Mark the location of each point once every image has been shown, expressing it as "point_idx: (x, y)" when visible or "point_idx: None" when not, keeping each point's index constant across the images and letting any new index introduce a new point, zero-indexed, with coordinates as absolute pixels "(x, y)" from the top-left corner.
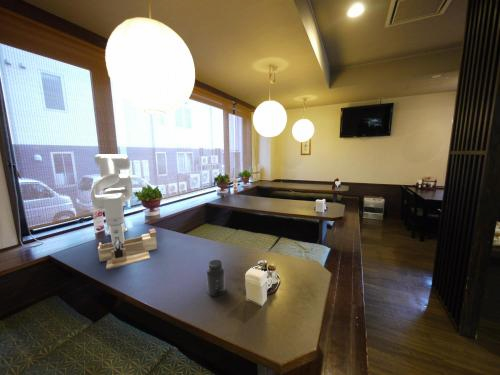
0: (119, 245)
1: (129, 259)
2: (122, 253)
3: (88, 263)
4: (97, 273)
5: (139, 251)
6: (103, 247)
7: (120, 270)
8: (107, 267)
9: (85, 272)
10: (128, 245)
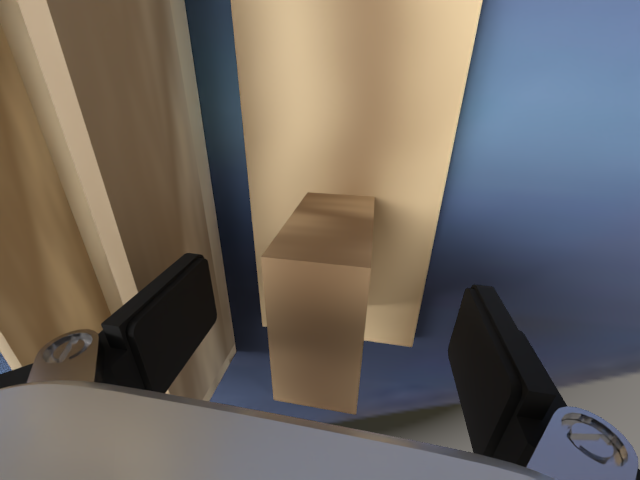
0: (171, 328)
1: (361, 167)
2: (509, 322)
3: (224, 393)
4: (427, 381)
5: (178, 24)
6: None
7: (530, 260)
8: (404, 340)
9: (352, 417)
10: (117, 181)
